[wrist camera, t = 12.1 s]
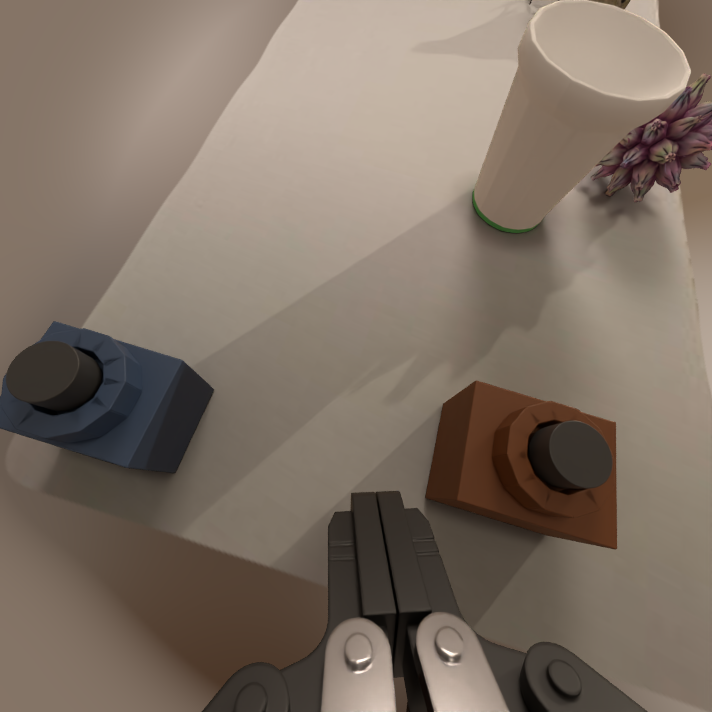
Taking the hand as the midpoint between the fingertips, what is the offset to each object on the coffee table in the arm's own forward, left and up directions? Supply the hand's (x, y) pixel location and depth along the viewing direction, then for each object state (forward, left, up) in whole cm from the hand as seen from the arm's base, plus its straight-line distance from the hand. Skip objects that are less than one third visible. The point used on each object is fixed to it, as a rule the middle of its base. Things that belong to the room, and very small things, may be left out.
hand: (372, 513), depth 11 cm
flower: (+48, -6, -17) cm, 52 cm away
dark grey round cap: (-4, +17, -8) cm, 19 cm away
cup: (+36, +3, -17) cm, 40 cm away
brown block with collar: (+9, -9, -17) cm, 21 cm away
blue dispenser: (-4, +17, -17) cm, 24 cm away
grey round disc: (+9, -9, -8) cm, 15 cm away
